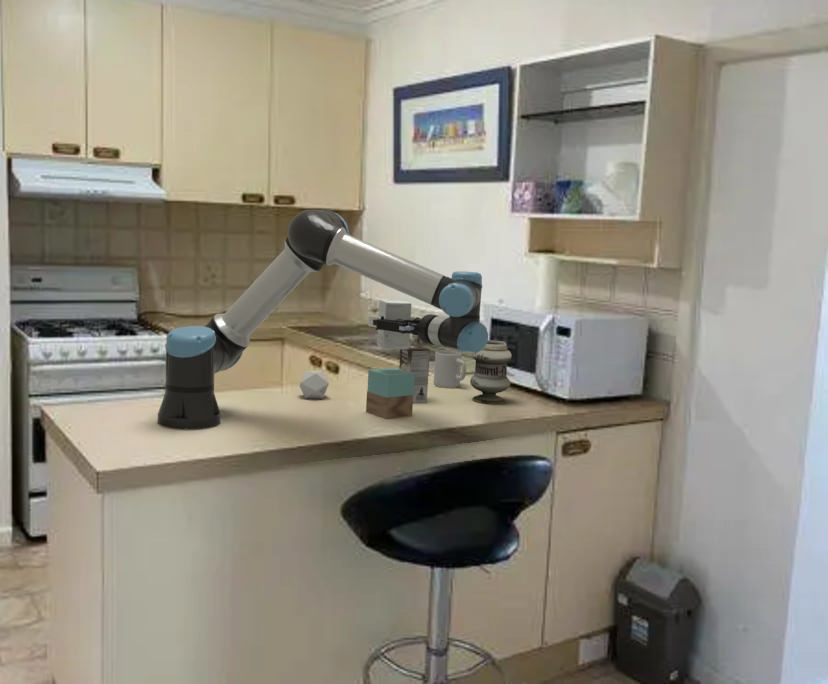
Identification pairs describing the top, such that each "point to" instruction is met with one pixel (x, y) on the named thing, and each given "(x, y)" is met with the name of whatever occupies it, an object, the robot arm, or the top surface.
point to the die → (314, 384)
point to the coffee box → (417, 369)
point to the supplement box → (394, 312)
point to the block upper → (391, 382)
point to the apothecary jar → (491, 372)
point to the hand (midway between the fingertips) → (384, 319)
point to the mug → (448, 369)
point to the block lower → (389, 406)
